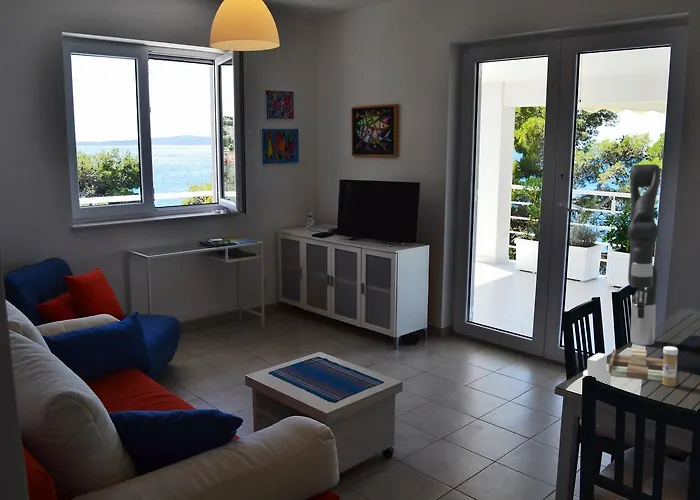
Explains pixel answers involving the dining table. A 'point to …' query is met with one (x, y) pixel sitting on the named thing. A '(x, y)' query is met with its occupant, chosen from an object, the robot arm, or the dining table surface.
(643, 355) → the beech block
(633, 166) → the robot arm
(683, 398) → the dining table surface
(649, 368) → the trap deck
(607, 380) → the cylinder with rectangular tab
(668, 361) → the sprinkles bottle
